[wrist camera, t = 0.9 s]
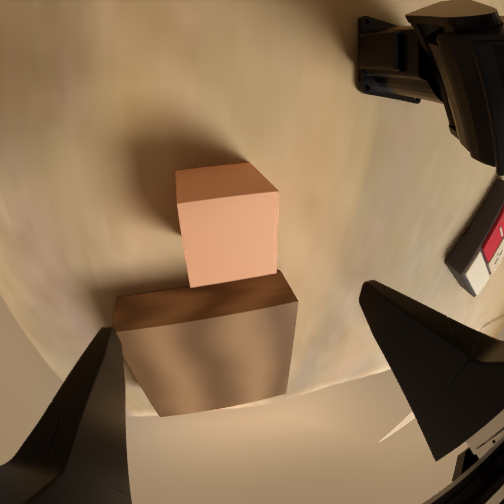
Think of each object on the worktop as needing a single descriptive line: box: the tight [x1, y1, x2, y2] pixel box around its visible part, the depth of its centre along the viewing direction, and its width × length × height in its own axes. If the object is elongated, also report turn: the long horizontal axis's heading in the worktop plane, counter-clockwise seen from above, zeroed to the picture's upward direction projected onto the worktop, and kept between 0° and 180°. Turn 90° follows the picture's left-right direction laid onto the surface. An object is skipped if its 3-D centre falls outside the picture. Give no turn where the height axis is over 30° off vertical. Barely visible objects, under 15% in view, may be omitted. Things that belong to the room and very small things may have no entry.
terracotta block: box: [175, 162, 279, 288], centre depth 17 cm, size 5×5×6 cm
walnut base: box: [112, 271, 298, 417], centre depth 25 cm, size 14×14×4 cm
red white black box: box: [444, 178, 504, 297], centre depth 30 cm, size 11×4×15 cm
